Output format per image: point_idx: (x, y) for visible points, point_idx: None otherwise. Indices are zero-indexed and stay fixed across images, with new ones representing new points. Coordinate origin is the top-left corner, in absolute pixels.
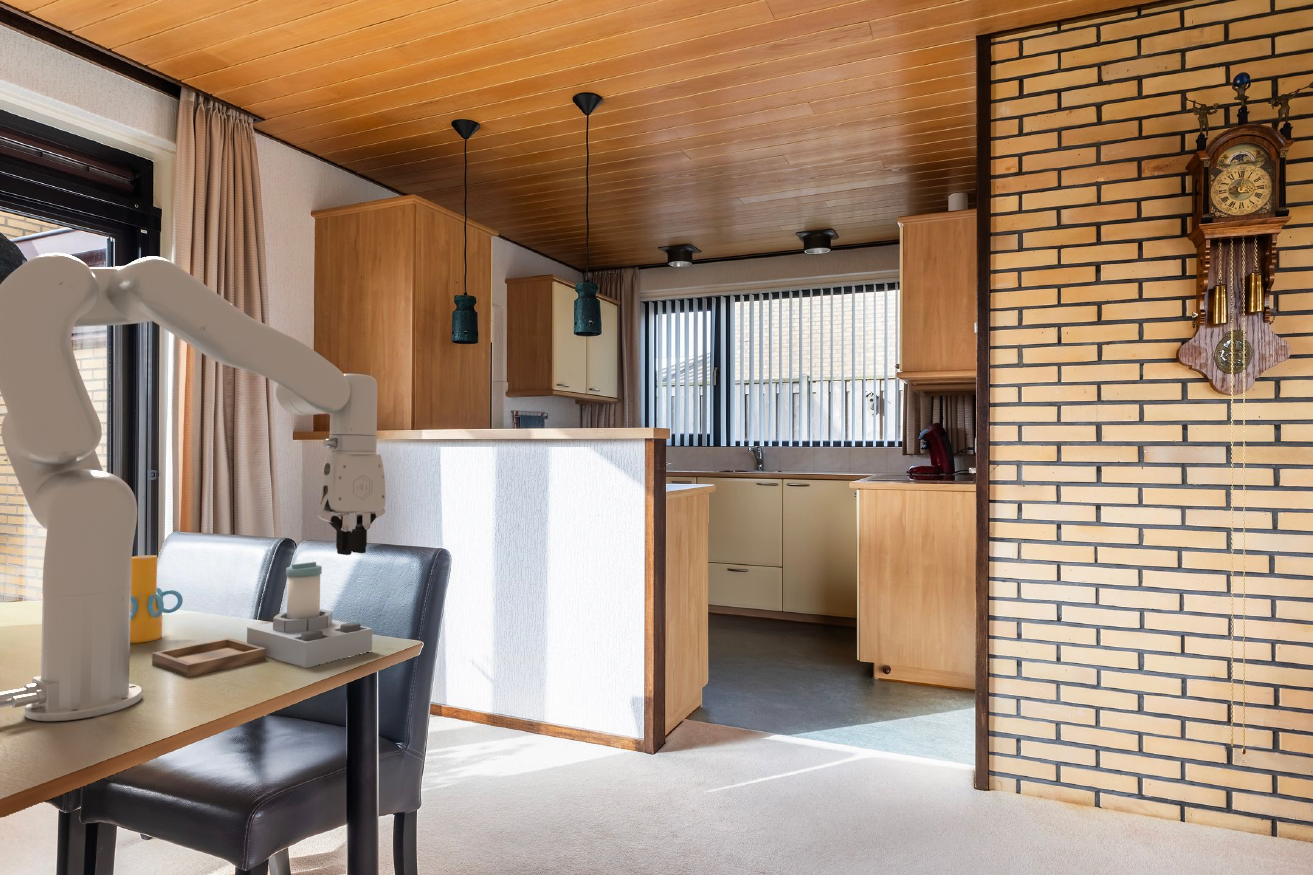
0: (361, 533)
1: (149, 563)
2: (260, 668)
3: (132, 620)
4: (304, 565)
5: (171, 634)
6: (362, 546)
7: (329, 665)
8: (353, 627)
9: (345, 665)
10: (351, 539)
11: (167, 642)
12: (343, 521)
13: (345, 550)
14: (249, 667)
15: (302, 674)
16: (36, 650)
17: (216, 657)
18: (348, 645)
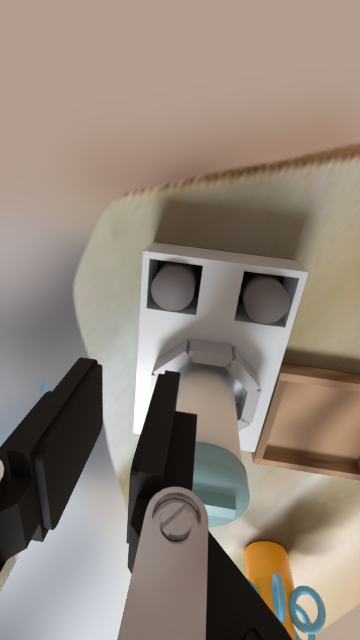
0: (53, 442)
1: None
2: (323, 327)
3: (292, 584)
4: (202, 498)
5: (231, 545)
6: (85, 379)
7: (261, 235)
8: (181, 270)
9: (248, 206)
10: (144, 425)
11: (262, 524)
12: (196, 596)
13: (176, 401)
14: (324, 346)
15: (330, 229)
16: (348, 591)
17: (315, 417)
18: (204, 253)
